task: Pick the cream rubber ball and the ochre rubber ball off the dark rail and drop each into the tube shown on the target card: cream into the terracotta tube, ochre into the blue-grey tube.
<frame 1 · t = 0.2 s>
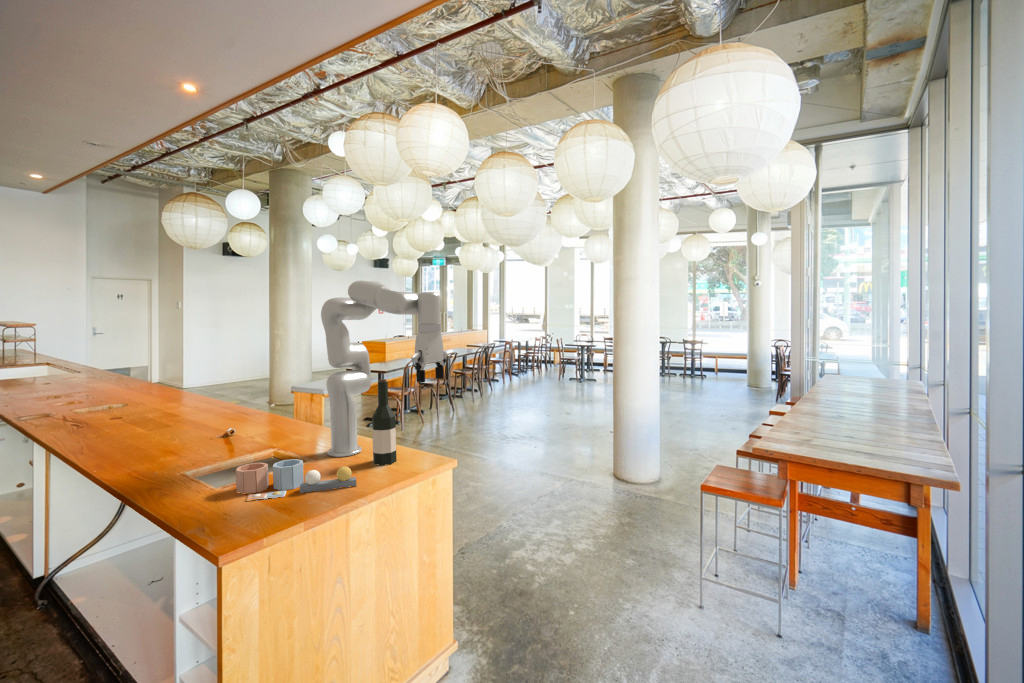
hand: (430, 380, 156), 31 cm above the table, tool pointing down, fingers open, 9 cm apart
ball ochre: (344, 480, 144), point 2 cm above the table, touching holder
target card: (266, 496, 137), on the table
wine bottle: (384, 462, 169), on the table
tube terracotta: (252, 489, 143), on the table
tube bluegrey: (288, 485, 146), on the table
holder: (328, 487, 143), on the table
ball cream: (312, 484, 141), point 2 cm above the table, touching holder
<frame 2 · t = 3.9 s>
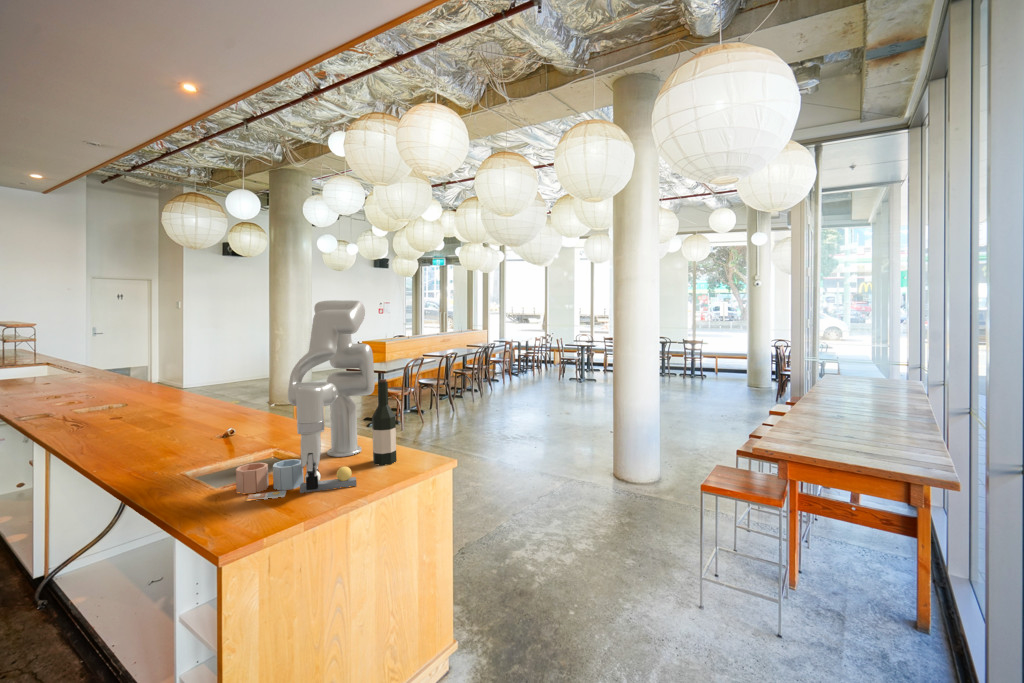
hand: (312, 485, 142), 1 cm above the table, tool pointing down, fingers closed on ball cream, 4 cm apart
ball cream: (312, 484, 141), point 2 cm above the table, touching gripper, holder
everything else where it was.
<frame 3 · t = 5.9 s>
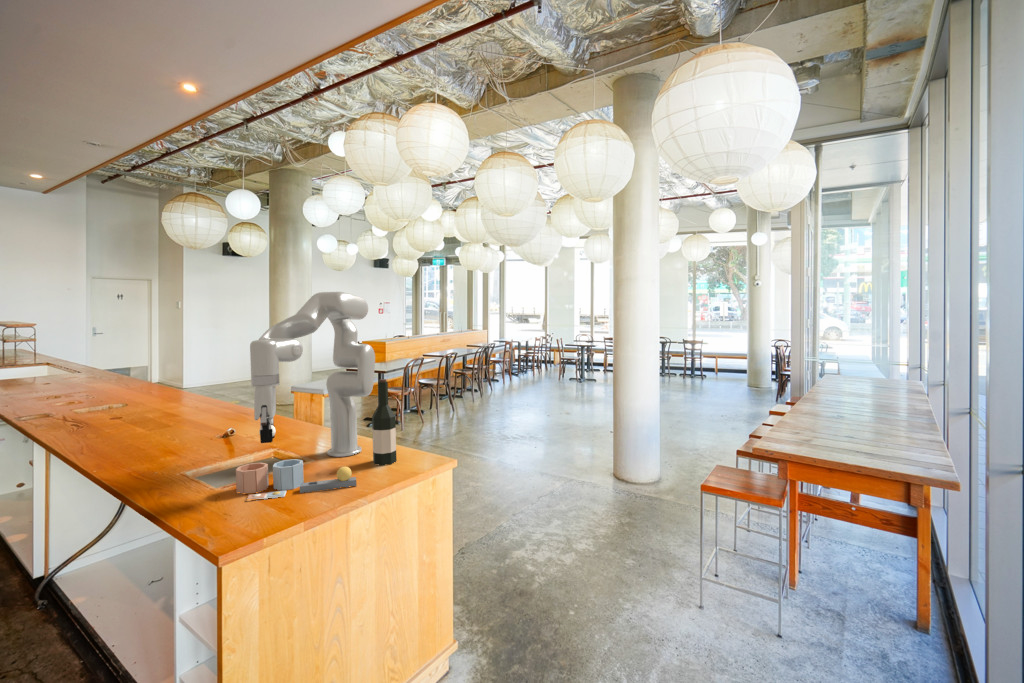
hand: (267, 439, 141), 15 cm above the table, tool pointing down, fingers closed on ball cream, 4 cm apart
ball cream: (267, 438, 141), point 16 cm above the table, touching gripper
everything else where it was.
when the fingers open (7 cm above the table, at t = 7.8 s): ball cream drops 7 cm, resting on tube terracotta.
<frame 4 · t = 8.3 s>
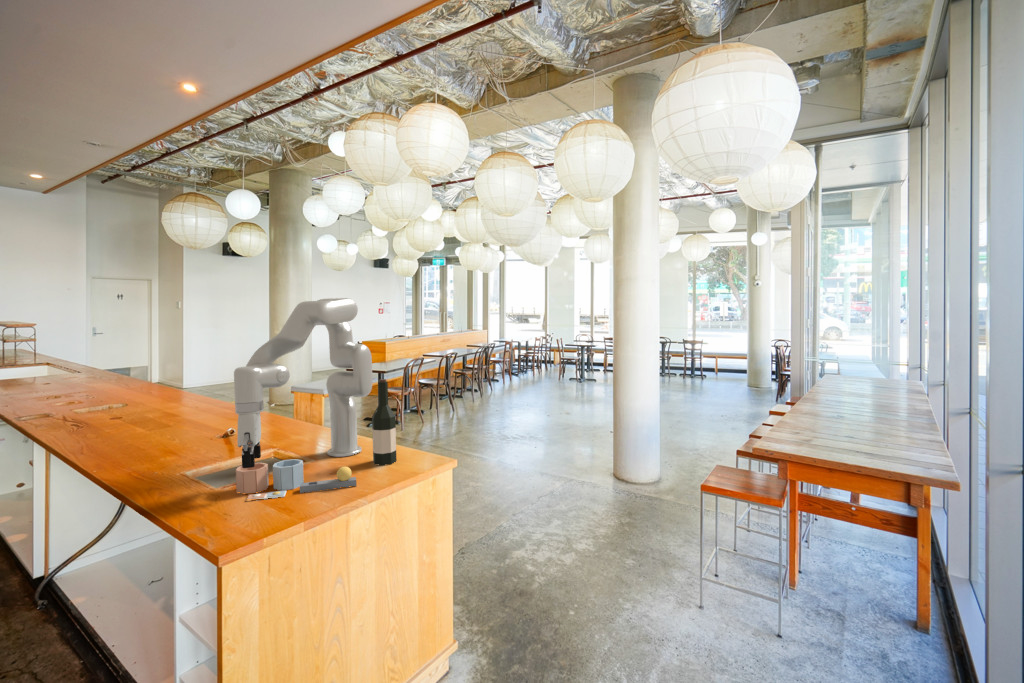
hand: (251, 462, 142), 8 cm above the table, tool pointing down, fingers open, 9 cm apart
ball cream: (252, 487, 143), resting on tube terracotta
everything else where it was.
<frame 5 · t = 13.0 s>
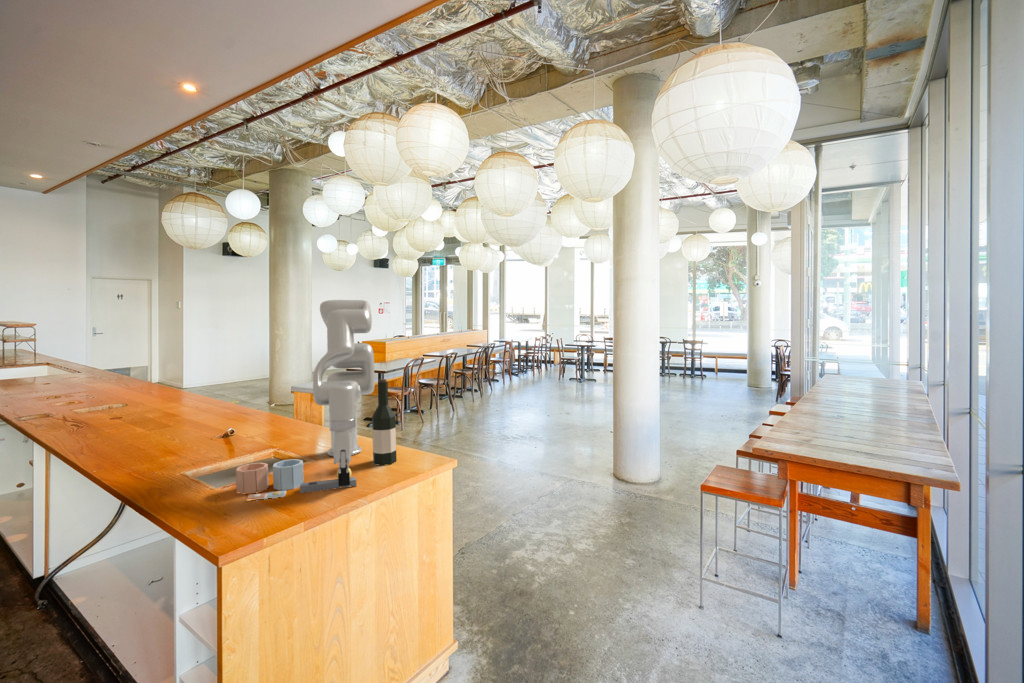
hand: (344, 482, 144), 1 cm above the table, tool pointing down, fingers closed on ball ochre, 4 cm apart
ball ochre: (344, 480, 144), point 2 cm above the table, touching gripper, holder
ball cream: (252, 487, 143), point 1 cm above the table, tilted 6°, touching tube terracotta
everything else where it was.
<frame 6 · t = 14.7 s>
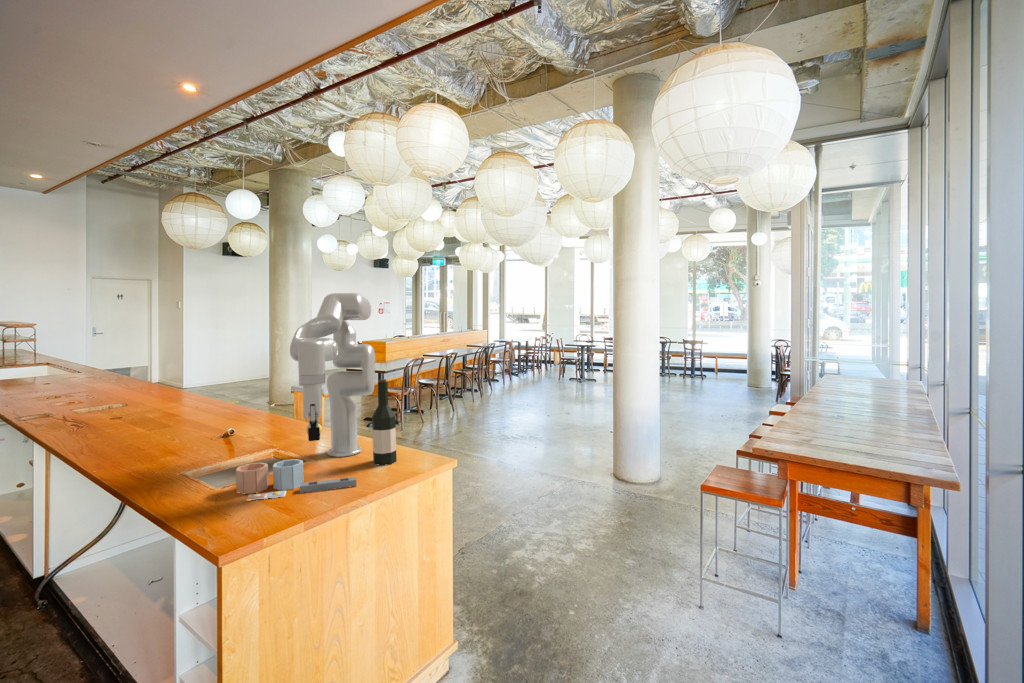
hand: (314, 437, 145), 15 cm above the table, tool pointing down, fingers closed on ball ochre, 4 cm apart
ball ochre: (314, 436, 144), point 15 cm above the table, touching gripper
everything else where it was.
when the fingers open (7 cm above the table, at t = 16.7 s): ball ochre drops 7 cm, resting on tube bluegrey.
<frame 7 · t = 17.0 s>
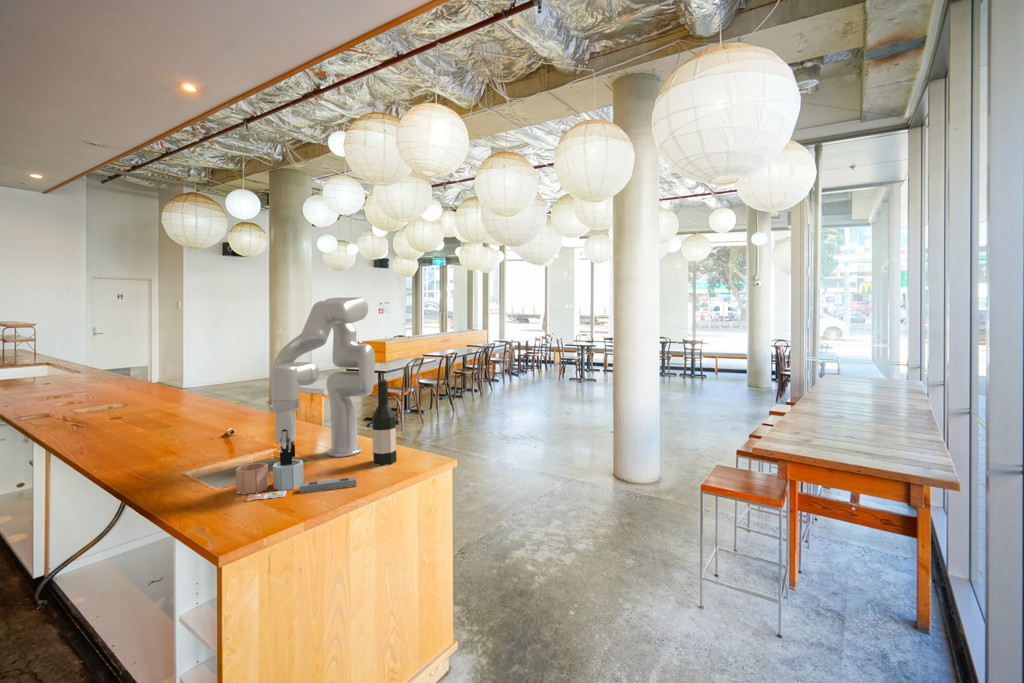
hand: (288, 460, 145), 8 cm above the table, tool pointing down, fingers open, 7 cm apart
ball ochre: (288, 483, 146), resting on tube bluegrey
everything else where it was.
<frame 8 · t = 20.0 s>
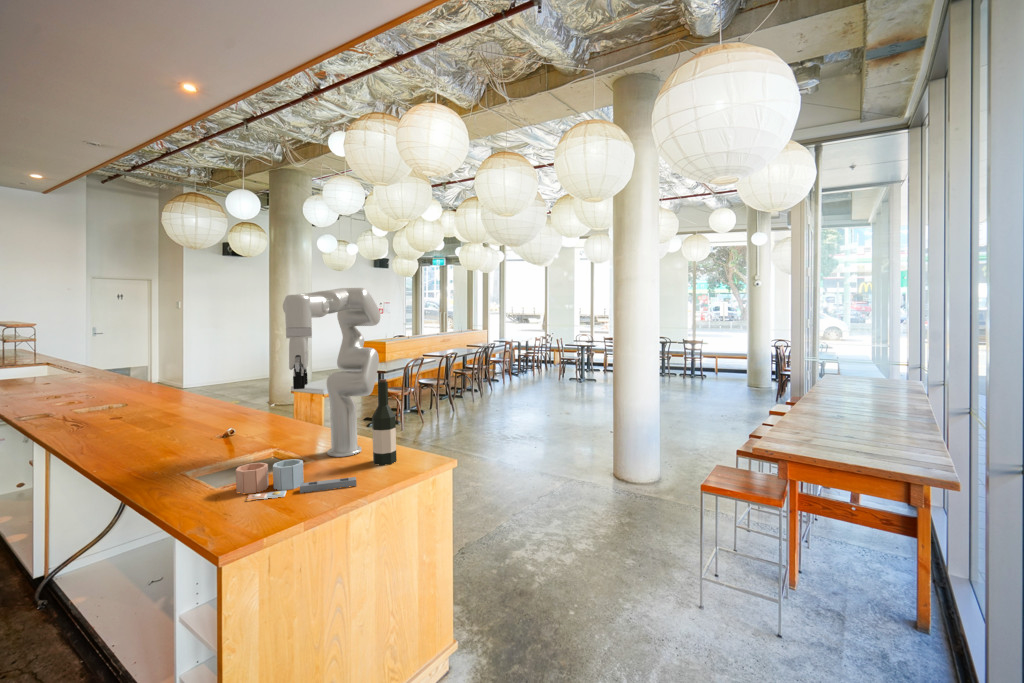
hand: (300, 386, 149), 30 cm above the table, tool pointing down, fingers open, 9 cm apart
nothing on the table moved.
at the end: ball cream 0.0 cm off-centre on the tube terracotta, point 0.6 cm above the tube terracotta's base; ball ochre 0.0 cm off-centre on the tube bluegrey, point 0.5 cm above the tube bluegrey's base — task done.
